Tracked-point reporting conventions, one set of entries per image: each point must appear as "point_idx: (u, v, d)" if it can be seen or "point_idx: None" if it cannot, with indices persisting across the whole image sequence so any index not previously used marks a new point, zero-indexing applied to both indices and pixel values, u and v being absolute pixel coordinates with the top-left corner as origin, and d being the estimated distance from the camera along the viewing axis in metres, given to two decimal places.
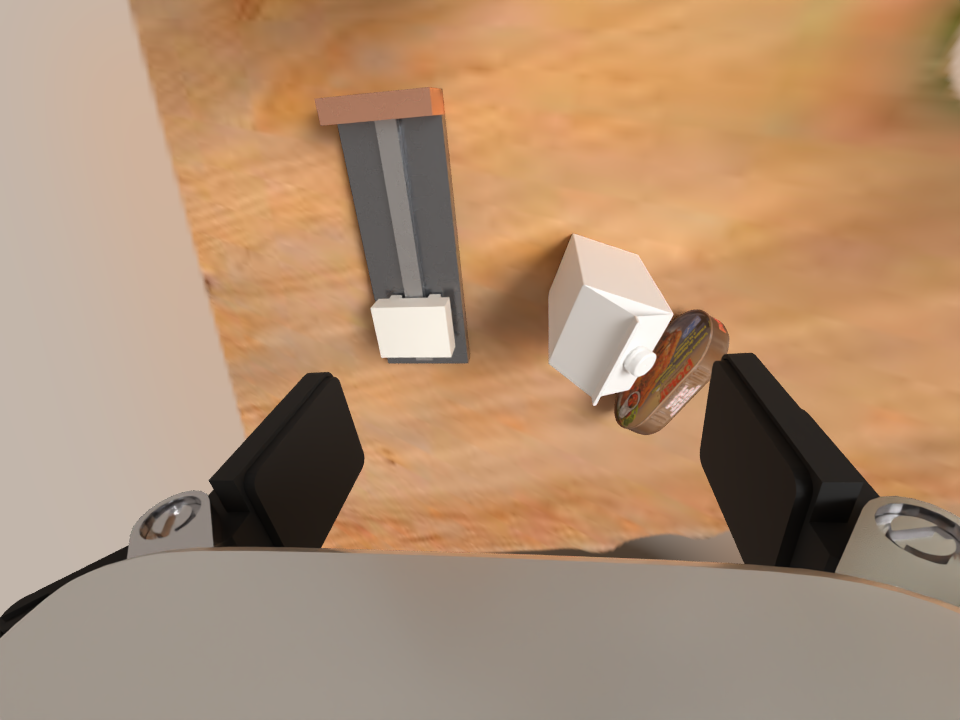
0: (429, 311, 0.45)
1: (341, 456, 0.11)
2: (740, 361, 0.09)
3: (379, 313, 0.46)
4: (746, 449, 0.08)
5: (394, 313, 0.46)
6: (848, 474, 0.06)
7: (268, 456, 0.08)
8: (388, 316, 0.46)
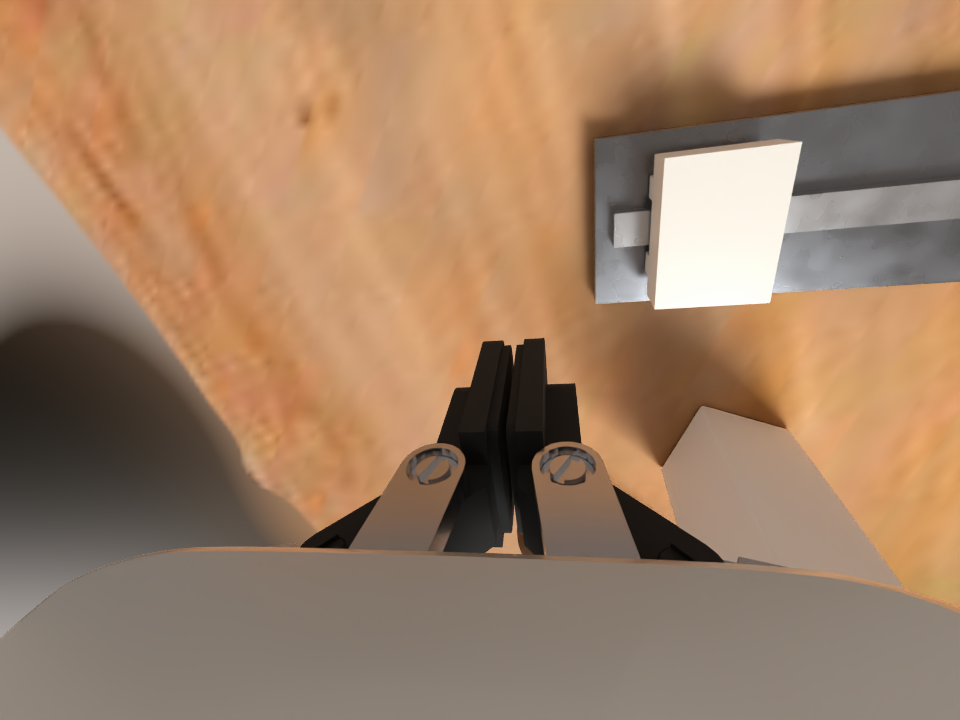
0: (764, 274, 0.23)
1: None
2: (528, 344, 0.11)
3: (783, 163, 0.21)
4: None
5: (775, 200, 0.21)
6: (538, 425, 0.08)
7: (497, 412, 0.09)
8: (770, 185, 0.21)
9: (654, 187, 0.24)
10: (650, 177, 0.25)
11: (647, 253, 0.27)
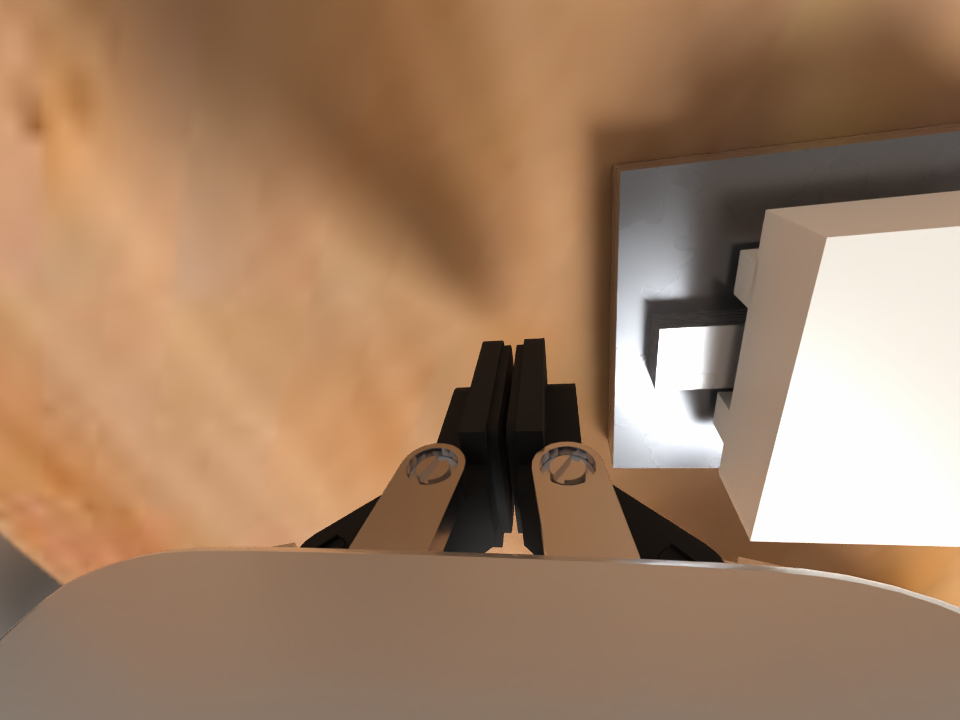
0: None
1: None
2: (528, 344, 0.11)
3: None
4: None
5: None
6: (537, 425, 0.08)
7: (497, 412, 0.09)
8: None
9: (761, 285, 0.10)
10: (742, 254, 0.11)
11: (722, 398, 0.13)
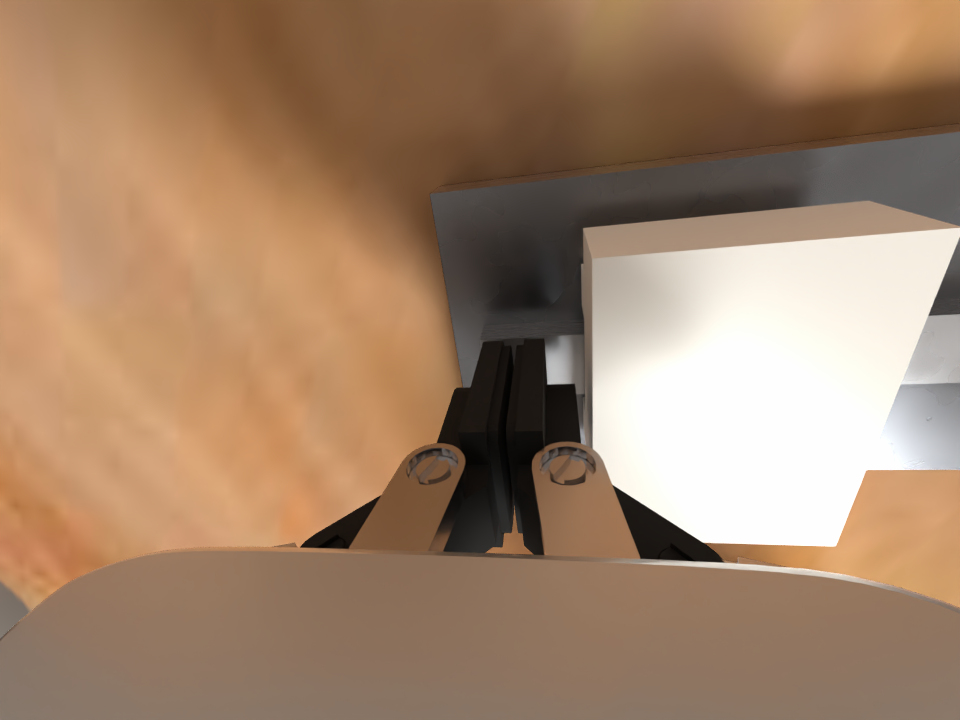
0: (829, 499, 0.10)
1: None
2: (528, 344, 0.11)
3: (901, 280, 0.08)
4: None
5: (871, 360, 0.09)
6: (538, 425, 0.08)
7: (497, 412, 0.09)
8: (862, 328, 0.08)
9: (585, 299, 0.11)
10: (581, 268, 0.12)
11: (584, 403, 0.14)
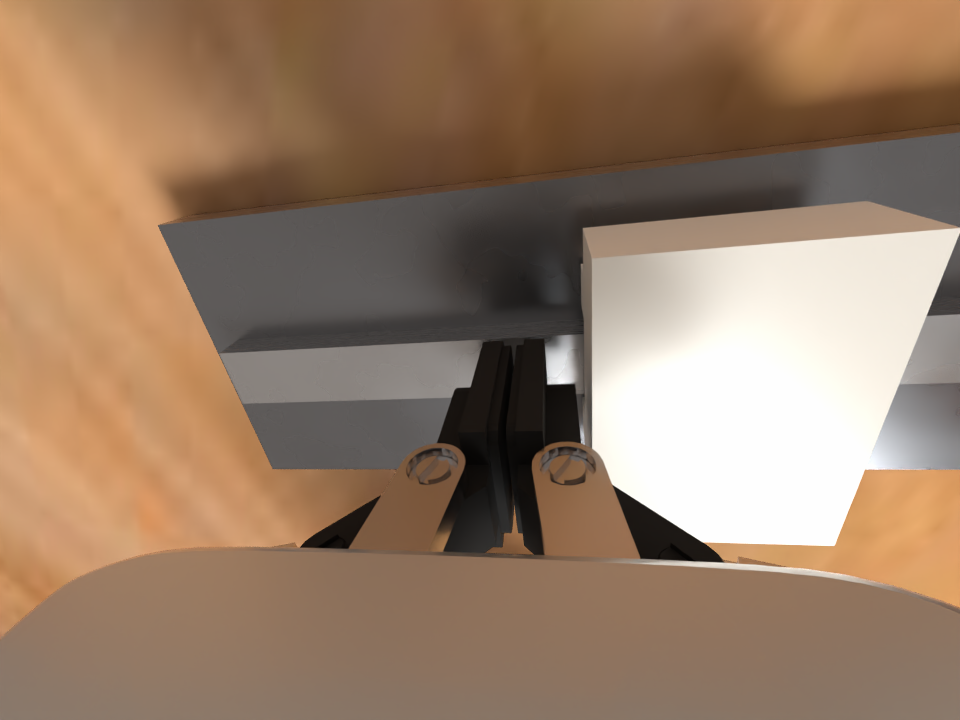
0: (828, 498, 0.10)
1: None
2: (528, 344, 0.11)
3: (899, 280, 0.08)
4: None
5: (869, 360, 0.09)
6: (537, 425, 0.08)
7: (497, 412, 0.09)
8: (861, 328, 0.08)
9: (584, 299, 0.11)
10: (581, 268, 0.12)
11: (584, 403, 0.14)
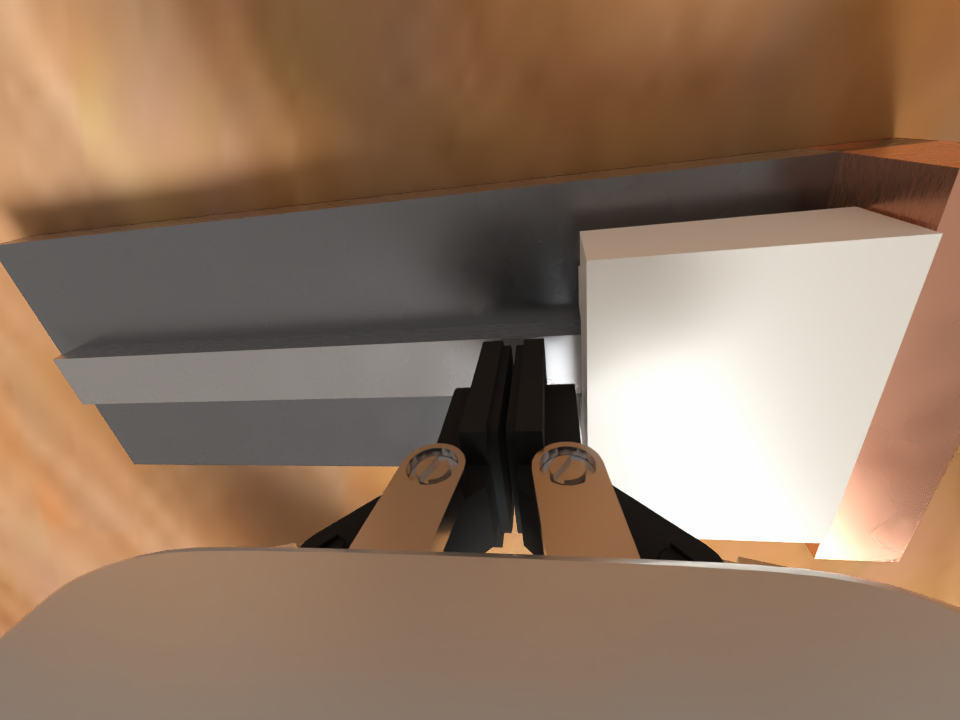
0: (818, 496, 0.11)
1: None
2: (528, 345, 0.11)
3: (884, 283, 0.08)
4: None
5: (856, 361, 0.09)
6: (537, 426, 0.08)
7: (497, 412, 0.09)
8: (847, 329, 0.09)
9: (581, 300, 0.11)
10: (578, 270, 0.12)
11: (582, 402, 0.14)
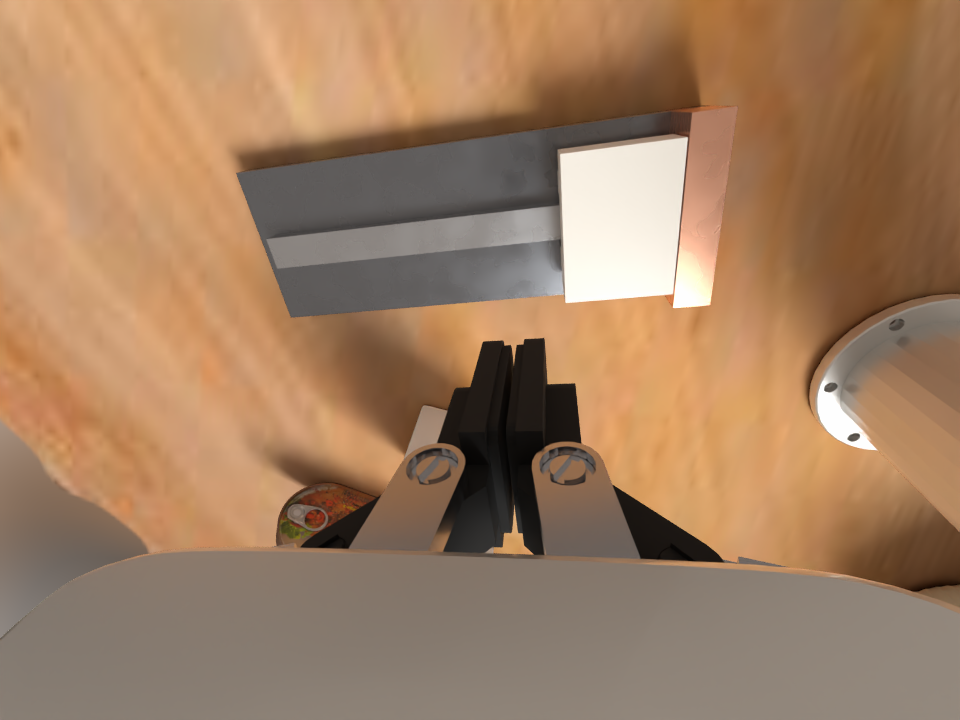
0: (665, 266, 0.24)
1: None
2: (528, 344, 0.11)
3: (672, 158, 0.21)
4: None
5: (668, 194, 0.22)
6: (537, 425, 0.08)
7: (496, 412, 0.09)
8: (662, 179, 0.22)
9: (559, 182, 0.24)
10: (557, 172, 0.25)
11: (561, 247, 0.27)
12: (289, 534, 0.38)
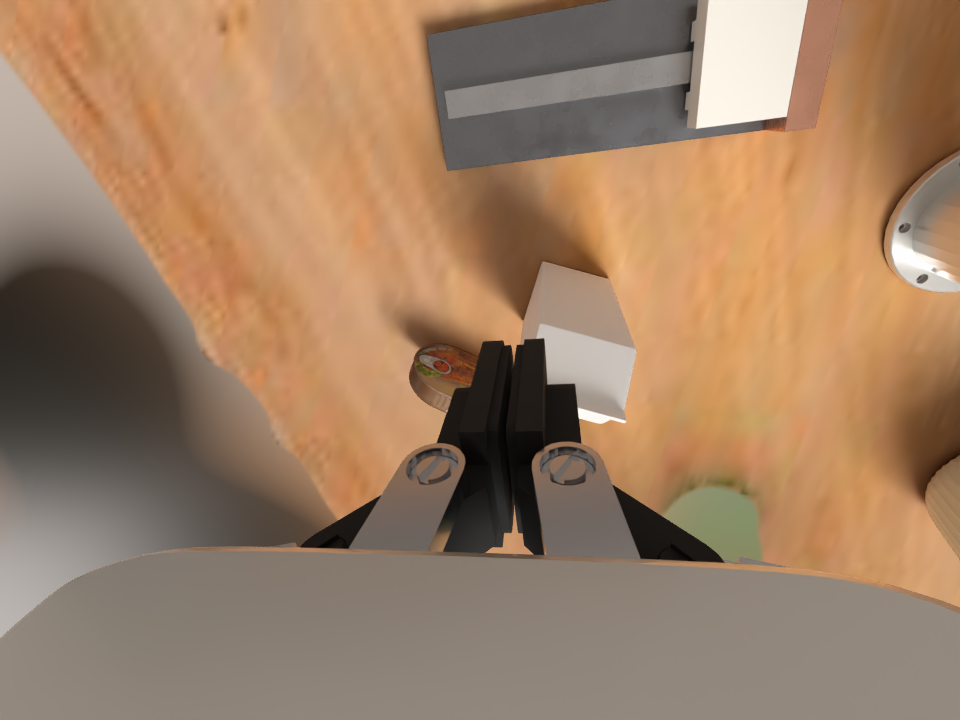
0: (783, 90, 0.30)
1: None
2: (528, 344, 0.11)
3: None
4: None
5: (792, 22, 0.28)
6: (537, 425, 0.08)
7: (496, 413, 0.09)
8: (789, 9, 0.28)
9: (697, 26, 0.31)
10: (692, 23, 0.32)
11: (687, 92, 0.34)
12: (424, 373, 0.45)
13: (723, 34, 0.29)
